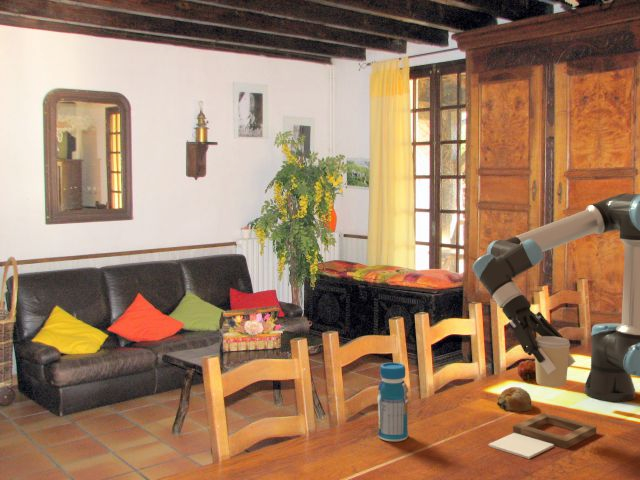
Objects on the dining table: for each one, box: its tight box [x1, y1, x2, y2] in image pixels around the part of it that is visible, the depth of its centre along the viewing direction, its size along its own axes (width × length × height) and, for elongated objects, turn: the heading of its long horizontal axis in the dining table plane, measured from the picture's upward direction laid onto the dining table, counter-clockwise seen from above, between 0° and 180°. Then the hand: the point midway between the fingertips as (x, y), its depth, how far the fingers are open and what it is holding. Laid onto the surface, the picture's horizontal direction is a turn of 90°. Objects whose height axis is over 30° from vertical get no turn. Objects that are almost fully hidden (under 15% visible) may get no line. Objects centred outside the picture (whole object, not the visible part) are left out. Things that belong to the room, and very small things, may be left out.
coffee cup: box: [534, 336, 571, 388], centre depth 200 cm, size 9×9×12 cm
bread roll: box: [496, 386, 533, 413], centre depth 225 cm, size 10×10×8 cm
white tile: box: [488, 432, 555, 460], centre depth 193 cm, size 12×12×1 cm
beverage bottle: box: [376, 362, 409, 443], centre depth 200 cm, size 8×8×20 cm
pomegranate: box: [517, 359, 536, 384], centre depth 253 cm, size 7×7×10 cm
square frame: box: [512, 412, 597, 449], centre depth 203 cm, size 16×16×2 cm
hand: (562, 367), depth 198 cm, fingers closed on coffee cup, 9 cm apart
